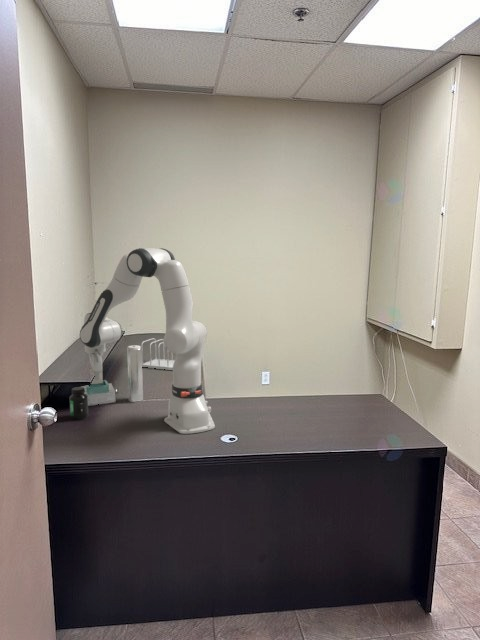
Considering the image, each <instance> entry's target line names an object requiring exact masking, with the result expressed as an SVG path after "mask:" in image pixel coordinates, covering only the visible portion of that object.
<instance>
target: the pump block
mask: <svg viewBox="0 0 480 640" xmlns="http://www.w3.org/2000/svg"><path fill="white" fill-rule="evenodd" d="M90 374H91V375H93V374H95V373H94V372H93V369H92V367H91V368H89V375H90ZM103 377H104V375H103V371H102V372H100V374H99V380H95V377H94V379H93V381H92V383H91V384H98V383H103V379H104V378H103Z"/></svg>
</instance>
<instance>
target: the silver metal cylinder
mask: <svg viewBox="0 0 480 640" xmlns="http://www.w3.org/2000/svg"><path fill="white" fill-rule="evenodd" d="M142 349H143V347H142V348H141V345H139V344H138V345H135V344H134V345H133V344H132V345H128V346H127V348H126V351H127V352H126V354H127V355H126V357H127V360H126V361H127V382H128V383H127V384H128V385H127V386H128V389H127V390H128V391H127V392H128V402H131V403H136V402H135V401H140V402H141V400H142V401H143V400H144V391H143V390H144V388H143V387H144V385H143V383H144V381H143V379H144V378H143V368H142Z"/></svg>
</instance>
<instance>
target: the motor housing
mask: <svg viewBox="0 0 480 640" xmlns="http://www.w3.org/2000/svg"><path fill="white" fill-rule="evenodd" d="M80 387H84V389H85V394H86V395H87V397H88V407H90V406H96V405H97V406H98V404H99V405H106V404H115V403H116V397H117V396H119V389H118V388H114V386H113V384H112V382H110V383H109V382H108V380H106V379H104V380H103V383H98V384H91V385H90V386H89V385H83V386H82V385H81V386H80Z"/></svg>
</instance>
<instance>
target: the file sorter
mask: <svg viewBox="0 0 480 640" xmlns="http://www.w3.org/2000/svg"><path fill="white" fill-rule="evenodd" d="M151 340H152V341H151ZM153 340H154V341H153ZM149 341H151V342H150V343H149V361H146V362H144V357H143V356H144V355H143V353H144V352H143V351H144V349H143V344H144V343H145V342H149ZM161 341H162V342H161ZM158 342H160V343H159V344H158V346H157V343H158ZM140 344H141V345H140V347H141V348H142V367H148V368H147V369H154V368H156V369H155V370H164V369H165V371H173V364H174V362H175V359H173V357H174V356H173V355H174V354H173V353H171V352H170V354H171V359H169V351H168V350H167V349H166V350H167V351H166V356H165V345H164V338H160V339H157V340H156V338H153V337H152V338H149V339H146V340H143V341H142V342H141V343H140ZM153 344H154V353H155V358H154V359H152V350H151V349H152V347H151V346H152V345H153ZM161 345H163V346H162V351H163V358H162V359H161V358H160V356H161V355H160V346H161ZM176 355H177V354H175V356H176ZM157 356H158V358H157ZM165 357H167V359H165Z"/></svg>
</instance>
